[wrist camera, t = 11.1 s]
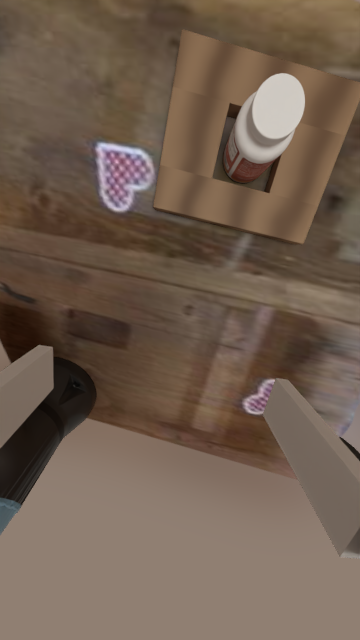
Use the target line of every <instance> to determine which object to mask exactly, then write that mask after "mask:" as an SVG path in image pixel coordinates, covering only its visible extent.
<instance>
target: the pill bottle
mask: <svg viewBox="0 0 360 640" xmlns="http://www.w3.org/2000/svg"><path fill="white" fill-rule="evenodd" d="M304 107H305V95H304V91H303V88H302V86H301V84H300V82H299V81H298V80H297V79H296V78H295V77H294V76H292V75H289V74H285V73H280V74H276V75H273V76H271V77H269V78H268V79H267V80H266V81H264V82H263V84H262V85H261V86H260V87H259V89H258V90H257V91H256V92H255V93H253V94H252V95H251V96H250V97H249V98H248V99H247V100H246V101H245V103H244V104H243V106H242V107H241V109H240V111H239V114H238V116H237V119H236V121H235V124H234V126H233V129H232V131H231V134H230V137H229V139H228V142H227V144H226V147H225V150H224V154H223V165H224V169H225V171H226V173H227V175H228V176H229V177H230V178H231V179H232V180H234V181H236V182H239V183H248V182H251V181H253V180H255V179H256V178H258V177H259V176H260V175H261V174H262V173H263V172H264V171H265V170H266V169H267V168H268V167H269V166H270V165H271V164H272V163H273V162H274V161H275V160H276V159H277V158H278V157H279V156H280V155H281V154H282V153H283V152H284V150H285V149H286V148H287V147H288V145H289V143H290V142H291V140H292V137H293V135H294V132H295V128H296V127H297V125H298V124H299V122H300V120H301V118H302V115H303V112H304Z"/></svg>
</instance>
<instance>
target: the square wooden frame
mask: <svg viewBox="0 0 360 640" xmlns="http://www.w3.org/2000/svg"><path fill="white" fill-rule="evenodd" d="M280 73H285V74H289V75H292V76H294V77H295V78H296V79H297V80H298V81H299V82H300V84H301V86H302V88H303V91H304V95H305V107H304V112H303V115H302V118H301V120H300V122H299V124H298V125H297V127H296V128H295V132H294V135H293V137H292V140H291V142H290V143H289V145H288V147H287V148H286V149H285V150H284V152H283V153H282V154H281V155H280V156H279V157H278V158H277V159H276V160H275V161H274V163H273V166H272V169H271V172H270V176H269V179H268V182H267V185H266V189H265V192H263V191H259V190H255V189H251V188H247V187H243V186H239V185H236V184H232V183H228V182H224V181H220V180H216V179H213V178H212V176H213V172H214V167H215V163H216V159H217V155H218V150H219V146H220V142H221V138H222V133H223V129H224V125H225V121H226V116H229V117H233V118H237V116H238V114H239V111H240V109H241V107H242V106H243V104H244V103H245V101H246V100H247V99H248V98H249V97H250V96H251V95H252V94H253V93H255V92H256V91H257V90H258V89H259V87H260V86H261V85H262V84H263V82H264V81H266V80H267V79H268V78H269V77H271V76H273V75H276V74H280ZM359 100H360V83H359V82H356V81H353V80H349V79H346V78H343V77H339V76H336V75H333V74H329V73H326V72H323V71H319V70H316V69H313V68H309V67H306V66H303V65H300V64H296V63H293V62H290V61H286V60H283V59H280V58H276V57H273V56H270V55H266V54H263V53H260V52H256V51H253V50H250V49H246V48H243V47H240V46H236V45H233V44H230V43H226V42H223V41H220V40H216V39H213V38H210V37H206V36H203V35H200V34H196V33H193V32H190V31H186V30H183V29H182V34H181V40H180V46H179V52H178V58H177V65H176V71H175V77H174V83H173V89H172V95H171V101H170V107H169V113H168V119H167V125H166V132H165V138H164V144H163V150H162V156H161V162H160V168H159V174H158V180H157V186H156V193H155V199H154V205H153V207H154V209H155V210H157V211H161V212H165V213H169V214H174V215H178V216H182V217H186V218H190V219H194V220H198V221H202V222H206V223H210V224H214V225H218V226H222V227H226V228H230V229H234V230H238V231H242V232H246V233H250V234H254V235H258V236H263V237H267V238H271V239H275V240H279V241H283V242H287V243H291V244H304V241H305V238H306V236H307V233H308V231H309V228H310V226H311V223H312V220H313V218H314V215H315V213H316V210H317V208H318V205H319V202H320V200H321V197H322V195H323V192H324V190H325V187H326V185H327V182H328V179H329V177H330V174H331V172H332V169H333V167H334V164H335V161H336V159H337V156H338V154H339V151H340V149H341V146H342V143H343V141H344V138H345V136H346V133H347V131H348V128H349V126H350V123H351V120H352V118H353V115H354V113H355V110H356V108H357V105H358V102H359Z"/></svg>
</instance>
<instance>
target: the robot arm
mask: <svg viewBox="0 0 360 640" xmlns="http://www.w3.org/2000/svg"><path fill="white" fill-rule="evenodd" d="M95 401H96V390H95V387H94V384H93V382H92V380H91V378H90V377H89V376H88V374H87V373H86V372H85V371H84V370H83V369H81V368H80V367H79V366H77V365H76V364H74V363H72V362H70V361H67V360H64V359H60V358H54V357H53V347H50V346H43V345H38V346H37V347H35V348H34V349H32V350H31V351H29V352H28V353H26V354H25V355H23V356H22V357H21V358H19V359H18V360H16V361H15V362H13V363H12V364H10V365H9V366H7V367H6V368H4V369H3V370H2V371H0V535H1V533H2V532H3V531H4V529H5V528H6V526H7V525H8V523H9V522H10V520H11V519H12V517H13V516H14V515H15V514H16V513H17V512H18V511H19V509H20V508H21V505H22V503H23V502H24V501H25V499H26V497H27V496H28V494H29V492H30V491H31V489H32V488H33V486H34V484H35V483H36V481H37V479H38V478H39V476H40V474H41V473H42V471H43V470H44V468H45V466H46V465H47V463H48V462H49V460H50V458H51V456H52V455H53V453H54V452H55V450H56V448H57V447H58V445H59V443H60V442H61V441H62V439H63V438H64V437H65V436H66V435H67V434H69V433H70V432H71V431H72V430H73V429H75V428H76V427H77V426H78V425H79V424H80V423H82V422H83V421H84V420H85V419H86V418H87V416H88V415H89V413H90V412H91V410H92V408H93V406H94V404H95ZM263 416H264V418H265V420H266V422H267V423H268V425H269V427H270V429H271V431H272V433H273V434H274V436H275V438H276V440H277V442H278V444H279V446H280V447H281V449H282V451H283V453H284V455H285V457H286V458H287V460H288V462H289V464H290V466H291V468H292V470H293V471H294V473H295V475H296V477H297V479H298V481H299V482H300V484H301V486H302V488H303V490H304V492H305V493H306V495H307V497H308V499H309V501H310V503H311V505H312V506H313V508H314V510H315V512H316V514H317V516H318V517H319V519H320V521H321V523H322V525H323V527H324V528H325V530H326V532H327V534H328V536H329V538H330V540H331V541H332V543H333V545H334V547H335V549H336V550H337V552H338V554H339V556H340V557H347V558H360V453H359V452H358V451H357V450H356V449H355V448H354V447H352V446H351V445H350V444H349V443H348V442H346V441H345V440H344V439H343V438H341V437H338V436H337V435H336V434H335V433H334V431H333V430H332V429H331V428H330V427H329V426H328V425H327V424H326V422H325V421H324V420H323V419H322V418H321V417H320V416H319V415H318V413H317V412H316V411H315V410H314V409H313V408H312V407H311V406H310V404H309V403H308V402H307V401H306V400H305V399H304V398H303V396H302V395H301V394H300V393H299V392H298V391H297V390H296V389H295V387H294V386H293V385H292V384H291V383H290V382H289V381H288V380H285V379H278V378H276V379H275V382H274V385H273V388H272V390H271V393H270V396H269V399H268V401H267V404H266V407H265V410H264V413H263Z"/></svg>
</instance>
